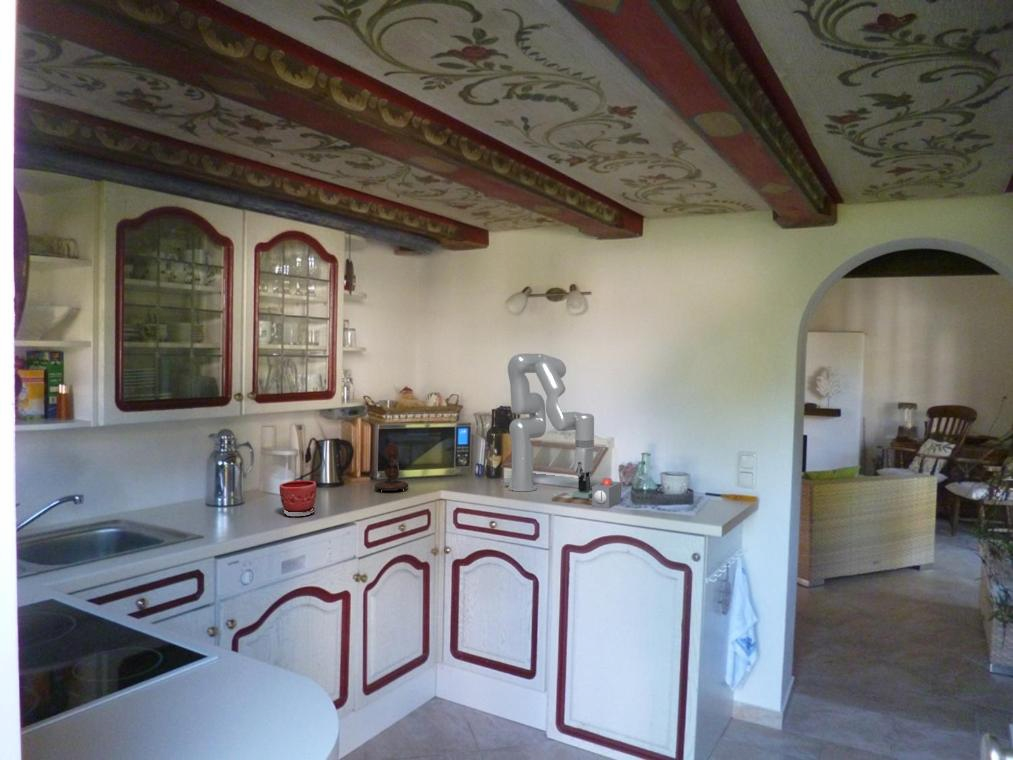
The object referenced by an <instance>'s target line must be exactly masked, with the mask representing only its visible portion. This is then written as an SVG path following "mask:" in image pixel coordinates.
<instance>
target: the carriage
mask: <svg viewBox="0 0 1013 760" xmlns="http://www.w3.org/2000/svg"><path fill="white" fill-rule="evenodd" d="M590 477H591V475H590V476H586V480H585V481H586V491H583V490H579V489H577V490H576V491H574V492H572V497H580V498H590V497H592V490H591V489H589V482H590V483H591V478H590Z"/></svg>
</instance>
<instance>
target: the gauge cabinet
mask: <svg viewBox="0 0 1013 760" xmlns="http://www.w3.org/2000/svg"><path fill="white" fill-rule="evenodd" d="M591 491H592V505H591V506H592V508H600V509H601V508H603V509H610V508H612V507H614V506H617V505H618V504H620V503H622V482H621V481H612V482H611V486H608V485H602V481H601V482H599V483H597V484H594V485H592V487H591Z"/></svg>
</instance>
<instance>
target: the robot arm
mask: <svg viewBox="0 0 1013 760" xmlns="http://www.w3.org/2000/svg"><path fill="white" fill-rule="evenodd" d="M533 373H534V374H535V373H536V376H537V378H538V380H539V383H540V384H541V386H542V390H544V392H545V395H546V400H544V398H543V396H542V395H541V394H540V393H538V392H531V390H530V382H529V379H528V377H527V376H526V374H533ZM566 373H567V367H566V363H564V361H562V360H561V359H560V358H556V357H555V356H554V357H553V356H551V355H547V354H544V353H518V354H515V355H514V356H512V357H511V358H510V359H509V361H508V363H507V374H508V379H509V386H510V405H511V410H512V412H513V413H514V414H516V415H521V416H522V415H528V416H527V417H526V416H525V417H518V418H515V419H513V420H512V421H511V422H510V423H509V428H508V429H509V435H510V444H511V477H510V478H504V484H509V485H507V489H508V490H509V491H512V490H513V492H532V491H536V490H537V486H536V485H535V484H534V447H533V445H532V442H531V440H532V439H538V438H542V437H543V436H544V435H545V433H546V430H547V421H546V420H547V418H548V420H549V422H550V424H551V426H552V427H553V429H554V430H556V431H558V432H567V431H574V433H575V434H574V439H575V443H574V445H575V446H574V448H575V451H574V458H573V459H574V461H573V463H574V464H573V472H574V473H575V474H576V476H577V481H578V489H577V490H583V491H586V481H585V480H586V476H590V479H591V478H592V477H591V474H592V471H594V448H595V435H594V434H595V417H594V415H593V414H592V413H582V412H578V411H569V412H567V411H565V412H562V410H561V407H560V406H559V401H558V399H559V398H560V397H561V396H562V395H563V394H564V393H565V392H566V388H567V387H566V386H565V384H564V382H563V380H562V378H564V376H565V375H566ZM546 415H547V418H546ZM589 490H591V481H590V482H589Z"/></svg>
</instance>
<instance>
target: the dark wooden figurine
mask: <svg viewBox="0 0 1013 760" xmlns="http://www.w3.org/2000/svg"><path fill="white" fill-rule="evenodd" d="M384 447H385V448H384V455H385V456H386V458H387V459H388V463H389V465H387V466H386V467H385V468H384V474H385V477H386V478H387V480H383V481H382V480H381V481H378V482H377V483H375V484H374V487H375V488H376V489H375V488H374V489H375V490H378V489H381V490H383V491H399V490H398V489H401V490H402V489H404V488H406V489H408V488H409V487H408V486H409V483H408V482H406V481H404V480H398V479H399V477H400V467H399V459H398V455H399V449H398V447H397V446H396V445H395V444H393V443H390V444H387V445H386V446H384ZM395 461H396V466H397V467H396V466H395ZM407 487H408V488H407Z"/></svg>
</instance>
